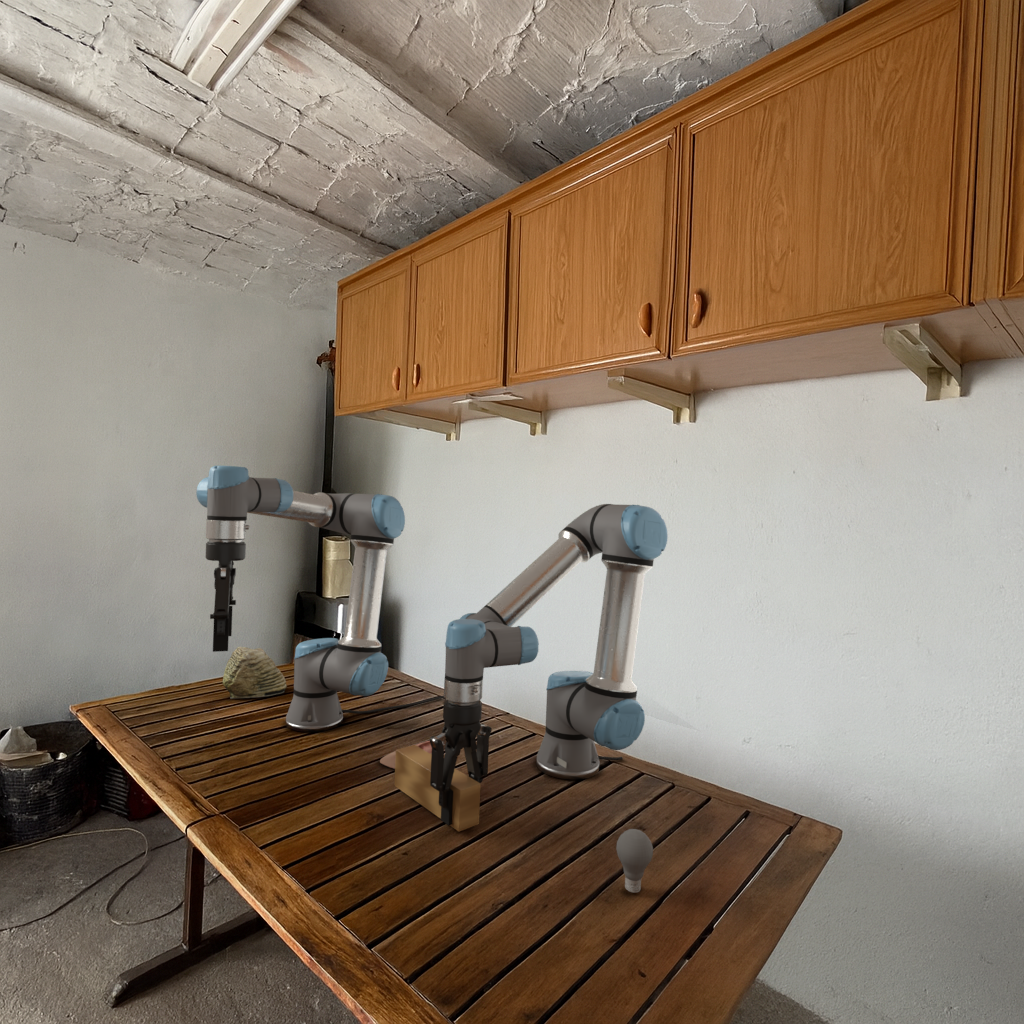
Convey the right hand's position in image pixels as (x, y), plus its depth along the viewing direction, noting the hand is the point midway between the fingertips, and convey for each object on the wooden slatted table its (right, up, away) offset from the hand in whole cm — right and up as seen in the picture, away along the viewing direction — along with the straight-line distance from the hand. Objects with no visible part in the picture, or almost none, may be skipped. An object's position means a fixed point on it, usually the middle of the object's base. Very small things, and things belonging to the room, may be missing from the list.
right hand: (458, 817), depth 124 cm
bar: (-5, 0, +6) cm, 8 cm away
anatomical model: (-14, -1, +29) cm, 33 cm away
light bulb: (+31, -3, -18) cm, 36 cm away
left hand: (-49, +33, +7) cm, 60 cm away
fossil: (-70, +3, +74) cm, 102 cm away
